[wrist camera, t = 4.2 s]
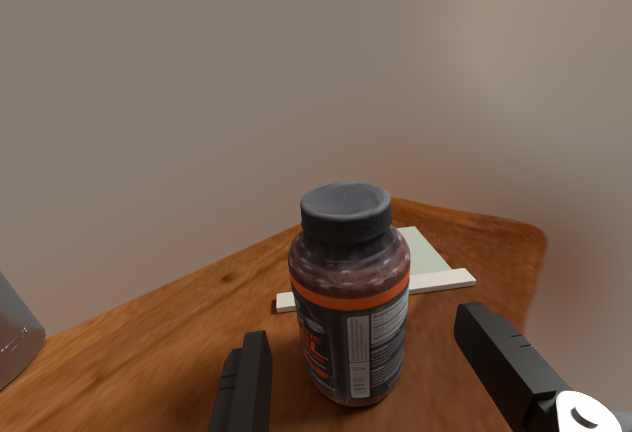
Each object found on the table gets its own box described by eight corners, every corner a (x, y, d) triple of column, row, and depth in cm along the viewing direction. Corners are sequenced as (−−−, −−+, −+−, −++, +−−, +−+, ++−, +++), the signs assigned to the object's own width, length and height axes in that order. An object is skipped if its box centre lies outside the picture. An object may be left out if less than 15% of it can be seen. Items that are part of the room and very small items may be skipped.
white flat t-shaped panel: (277, 312, 21) (276, 308, 21) (281, 246, 30) (280, 243, 30) (475, 285, 22) (476, 280, 22) (422, 228, 30) (423, 224, 30)
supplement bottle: (291, 348, 18) (259, 192, 13) (363, 311, 21) (358, 166, 16) (338, 437, 13) (316, 247, 8) (425, 376, 16) (448, 197, 11)
